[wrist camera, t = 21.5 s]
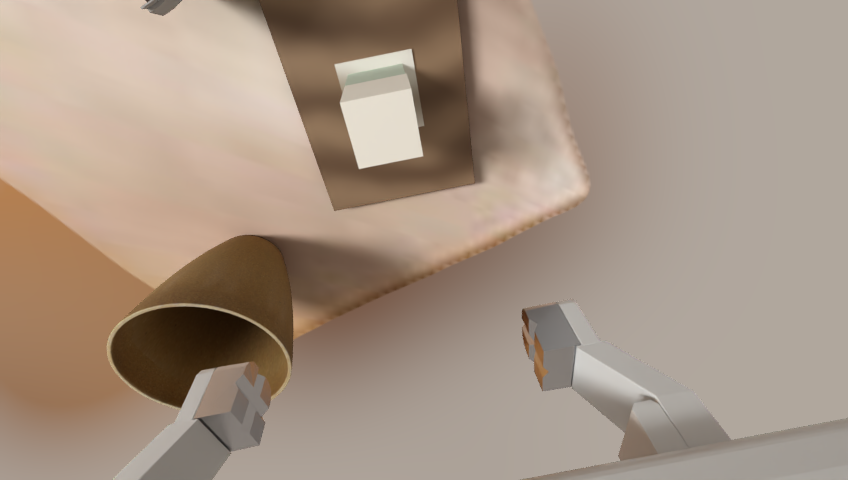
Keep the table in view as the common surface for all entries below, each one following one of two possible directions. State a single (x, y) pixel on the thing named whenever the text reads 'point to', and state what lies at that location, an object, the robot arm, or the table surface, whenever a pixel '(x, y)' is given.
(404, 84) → the cream block
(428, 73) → the board
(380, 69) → the sage green block
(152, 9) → the food container
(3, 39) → the table surface
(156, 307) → the plant pot
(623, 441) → the robot arm
